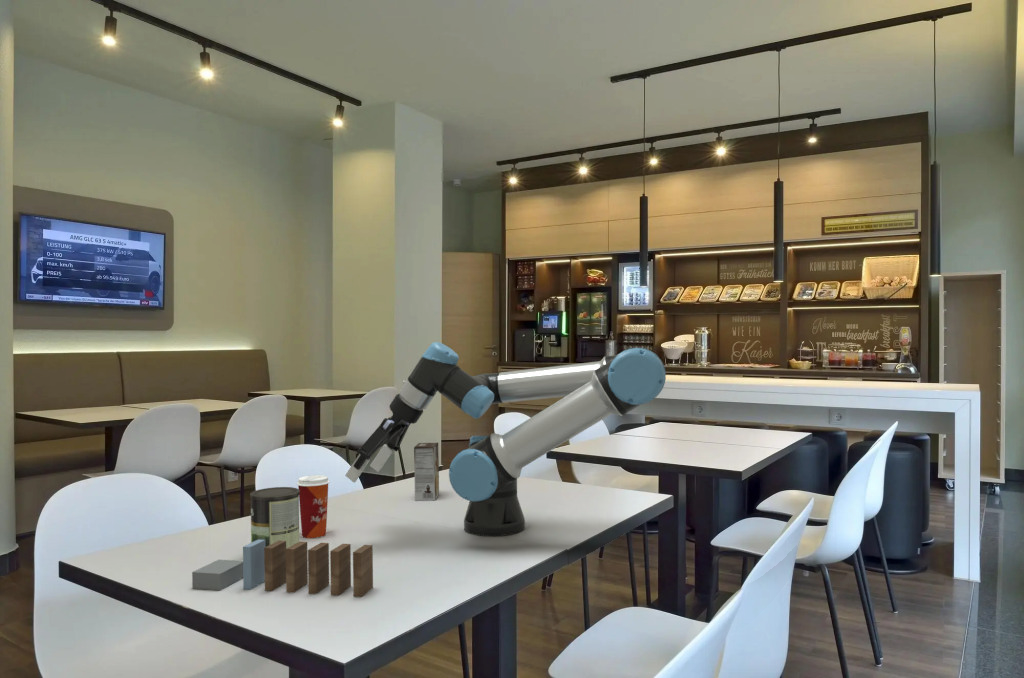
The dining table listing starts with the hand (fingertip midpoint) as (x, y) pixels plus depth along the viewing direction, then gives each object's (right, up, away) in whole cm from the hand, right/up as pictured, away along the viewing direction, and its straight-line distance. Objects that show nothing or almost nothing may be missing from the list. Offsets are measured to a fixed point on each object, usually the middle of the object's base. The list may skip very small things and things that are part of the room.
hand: (362, 473), depth 167 cm
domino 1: (-14, -15, -33) cm, 38 cm away
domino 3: (-5, -15, -34) cm, 38 cm away
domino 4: (-1, -15, -35) cm, 38 cm away
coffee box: (+10, -16, +44) cm, 48 cm away
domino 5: (+4, -15, -36) cm, 40 cm away
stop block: (-21, -15, -31) cm, 40 cm away
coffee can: (-16, -16, -14) cm, 26 cm away
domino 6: (+8, -15, -37) cm, 41 cm away
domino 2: (-9, -15, -34) cm, 38 cm away
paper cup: (-12, -16, +3) cm, 20 cm away
